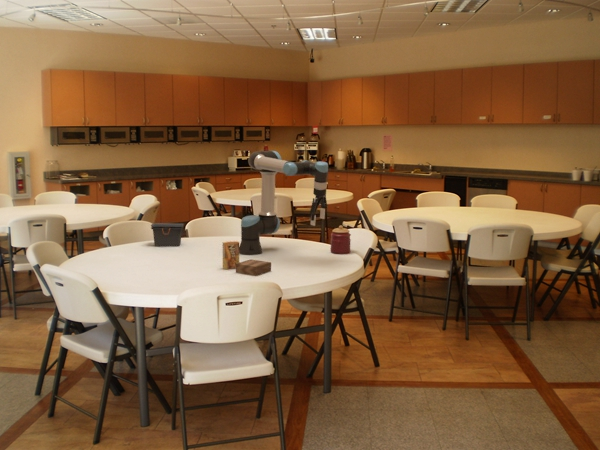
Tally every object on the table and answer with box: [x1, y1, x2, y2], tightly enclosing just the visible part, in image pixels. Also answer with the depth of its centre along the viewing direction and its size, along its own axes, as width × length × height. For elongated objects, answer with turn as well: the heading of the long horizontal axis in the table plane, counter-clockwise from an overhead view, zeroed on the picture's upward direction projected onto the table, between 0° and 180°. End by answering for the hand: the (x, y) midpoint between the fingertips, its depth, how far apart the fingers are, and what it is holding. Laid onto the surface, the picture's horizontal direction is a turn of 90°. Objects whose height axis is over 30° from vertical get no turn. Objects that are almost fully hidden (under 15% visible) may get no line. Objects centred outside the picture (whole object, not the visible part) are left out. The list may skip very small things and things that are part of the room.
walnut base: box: [235, 259, 272, 277], centre depth 349 cm, size 14×14×5 cm
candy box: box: [222, 240, 240, 270], centre depth 357 cm, size 9×4×15 cm, turn 116°
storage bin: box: [150, 222, 185, 247], centre depth 423 cm, size 21×16×14 cm
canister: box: [330, 225, 352, 255], centre depth 405 cm, size 13×13×18 cm
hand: (317, 221), depth 377 cm, fingers open, 13 cm apart
